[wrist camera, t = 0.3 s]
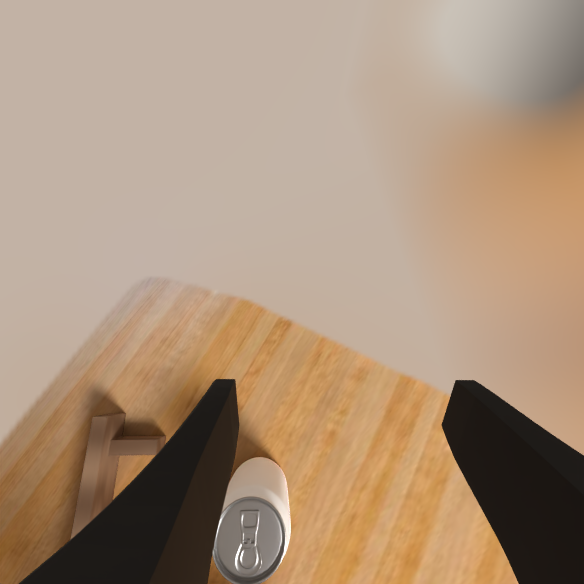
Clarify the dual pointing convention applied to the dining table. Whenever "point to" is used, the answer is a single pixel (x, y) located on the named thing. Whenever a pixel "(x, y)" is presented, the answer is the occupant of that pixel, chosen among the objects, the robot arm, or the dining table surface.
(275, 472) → the can
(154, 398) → the dining table surface
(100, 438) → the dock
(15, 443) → the dining table surface
